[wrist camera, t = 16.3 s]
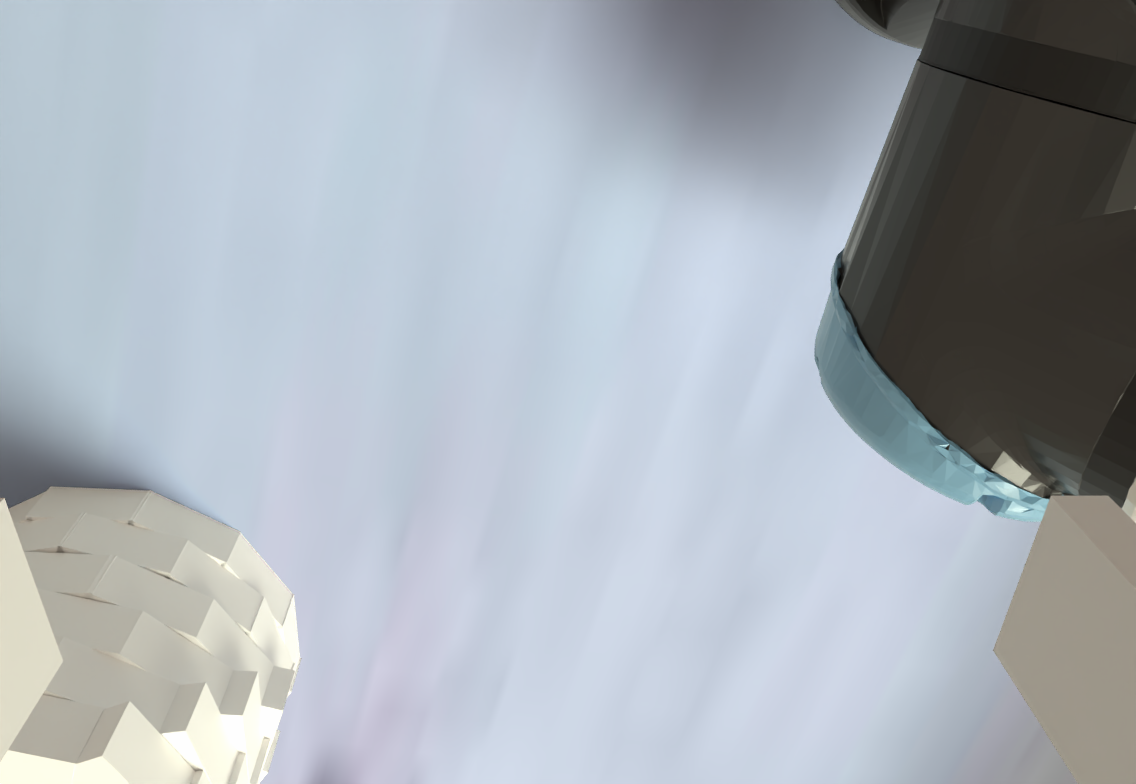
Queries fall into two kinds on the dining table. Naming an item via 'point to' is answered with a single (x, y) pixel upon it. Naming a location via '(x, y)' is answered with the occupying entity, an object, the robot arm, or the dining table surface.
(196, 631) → the basket
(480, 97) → the dining table surface
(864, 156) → the dining table surface
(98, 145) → the dining table surface
